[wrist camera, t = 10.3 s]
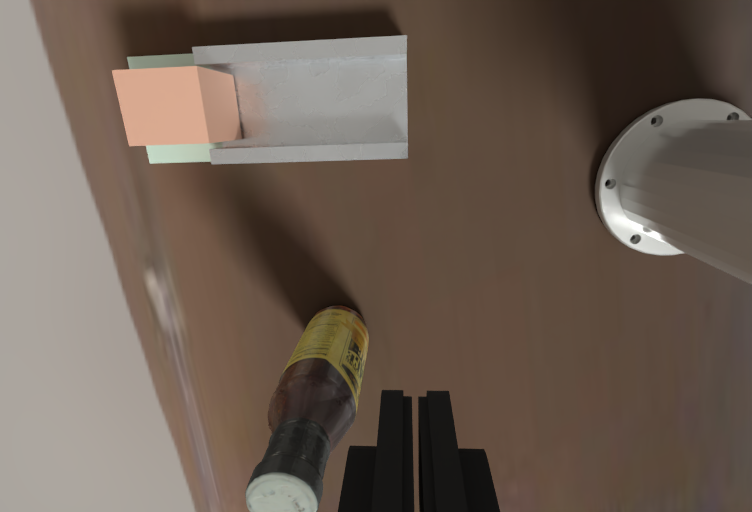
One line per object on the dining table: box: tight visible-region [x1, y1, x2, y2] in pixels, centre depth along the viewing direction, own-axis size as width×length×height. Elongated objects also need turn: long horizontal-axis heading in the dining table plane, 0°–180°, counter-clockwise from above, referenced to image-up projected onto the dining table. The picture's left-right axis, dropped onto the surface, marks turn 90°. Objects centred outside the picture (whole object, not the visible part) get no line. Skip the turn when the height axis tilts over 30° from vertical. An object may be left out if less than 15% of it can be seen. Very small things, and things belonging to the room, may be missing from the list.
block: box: [112, 66, 242, 146], centre depth 31 cm, size 6×5×6 cm
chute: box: [192, 35, 408, 164], centre depth 32 cm, size 16×9×3 cm, turn 92°
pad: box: [127, 54, 223, 163], centre depth 34 cm, size 7×9×1 cm
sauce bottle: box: [245, 305, 369, 512], centre depth 31 cm, size 6×6×20 cm
